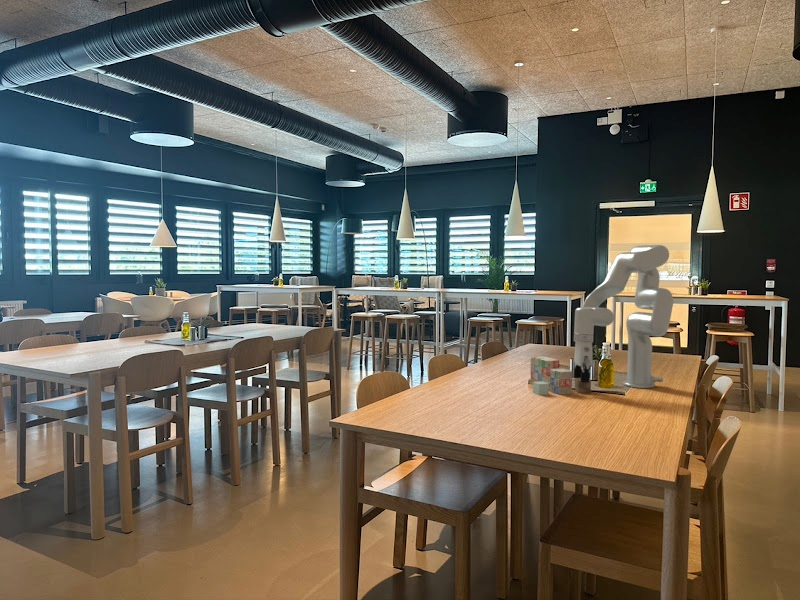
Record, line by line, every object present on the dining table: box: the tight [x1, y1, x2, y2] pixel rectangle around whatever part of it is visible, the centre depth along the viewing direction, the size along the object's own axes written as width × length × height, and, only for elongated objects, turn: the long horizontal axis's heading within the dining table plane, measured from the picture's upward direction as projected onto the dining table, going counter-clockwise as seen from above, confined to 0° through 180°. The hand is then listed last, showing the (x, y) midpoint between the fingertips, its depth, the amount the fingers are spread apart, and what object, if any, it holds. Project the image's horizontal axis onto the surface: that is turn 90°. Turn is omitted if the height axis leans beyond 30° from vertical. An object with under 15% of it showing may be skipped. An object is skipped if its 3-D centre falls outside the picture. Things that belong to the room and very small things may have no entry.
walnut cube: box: [574, 378, 592, 394], centre depth 230 cm, size 5×5×5 cm
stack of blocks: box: [529, 355, 573, 395], centre depth 235 cm, size 21×6×12 cm, turn 19°
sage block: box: [532, 381, 550, 396], centre depth 225 cm, size 4×4×4 cm
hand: (581, 380), depth 229 cm, fingers open, 9 cm apart
